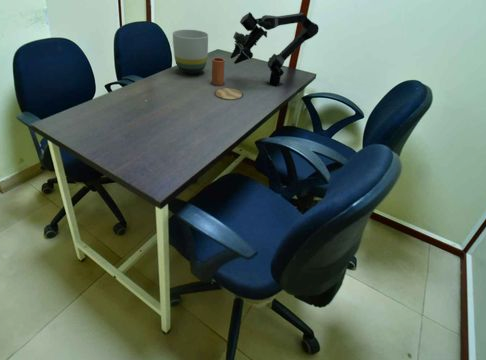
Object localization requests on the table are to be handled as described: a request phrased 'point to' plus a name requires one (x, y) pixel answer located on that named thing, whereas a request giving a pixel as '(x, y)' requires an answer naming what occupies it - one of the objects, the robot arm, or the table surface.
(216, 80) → the terracotta pot
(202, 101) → the table surface
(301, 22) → the robot arm
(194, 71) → the planter
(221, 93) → the beige flat disc
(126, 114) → the table surface
